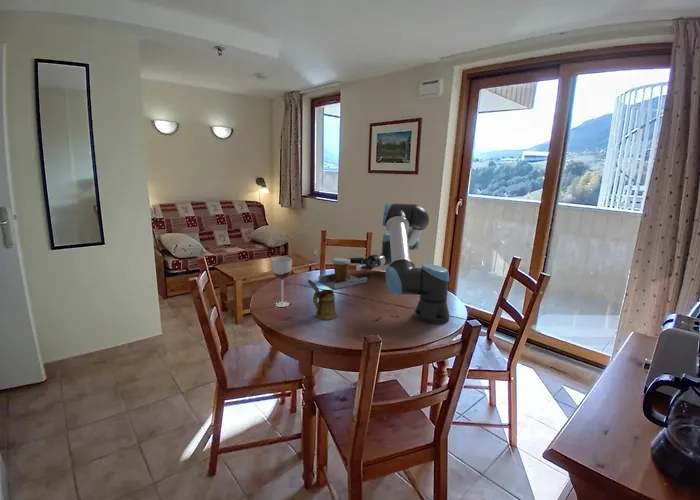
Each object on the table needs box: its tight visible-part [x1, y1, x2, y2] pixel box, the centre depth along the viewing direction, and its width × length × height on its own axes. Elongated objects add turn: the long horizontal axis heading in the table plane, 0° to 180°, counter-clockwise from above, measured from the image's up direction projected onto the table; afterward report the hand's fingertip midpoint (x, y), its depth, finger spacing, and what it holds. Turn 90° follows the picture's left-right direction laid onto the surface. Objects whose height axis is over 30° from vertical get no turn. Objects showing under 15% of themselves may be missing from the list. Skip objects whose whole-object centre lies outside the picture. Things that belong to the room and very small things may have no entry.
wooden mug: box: [307, 279, 338, 321], centre depth 155 cm, size 9×14×18 cm, turn 124°
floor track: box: [317, 270, 368, 291], centre depth 204 cm, size 22×16×3 cm
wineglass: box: [271, 256, 293, 307], centre depth 167 cm, size 9×10×22 cm
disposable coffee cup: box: [332, 256, 350, 281], centre depth 206 cm, size 10×10×12 cm
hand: (348, 265), depth 206 cm, fingers open, 13 cm apart
